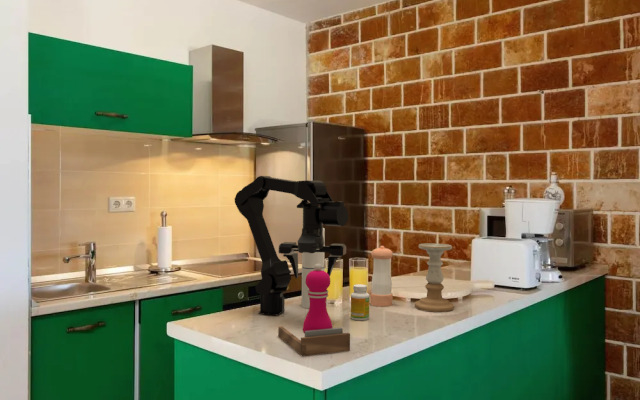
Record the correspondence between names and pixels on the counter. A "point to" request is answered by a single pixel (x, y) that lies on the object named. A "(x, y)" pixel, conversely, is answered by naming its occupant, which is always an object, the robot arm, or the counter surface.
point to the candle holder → (434, 280)
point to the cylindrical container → (307, 266)
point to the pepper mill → (317, 300)
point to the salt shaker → (381, 278)
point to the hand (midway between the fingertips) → (312, 278)
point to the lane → (316, 342)
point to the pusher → (323, 332)
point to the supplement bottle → (360, 303)
